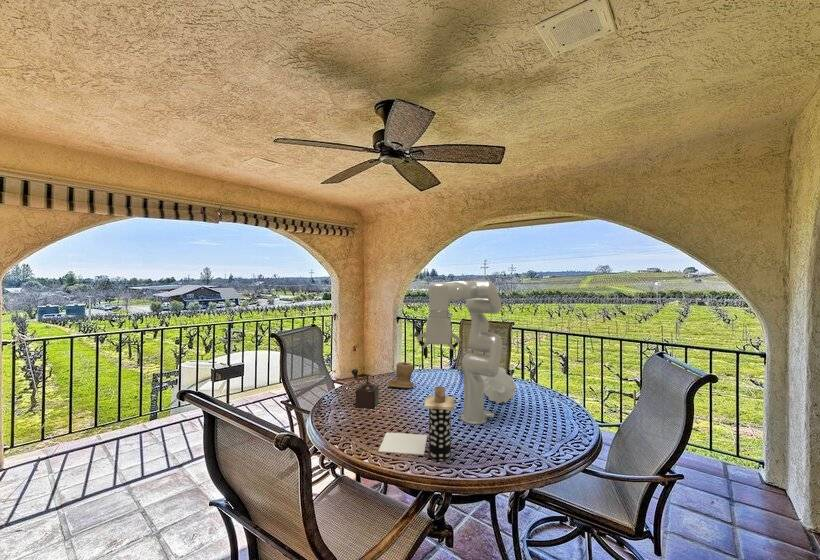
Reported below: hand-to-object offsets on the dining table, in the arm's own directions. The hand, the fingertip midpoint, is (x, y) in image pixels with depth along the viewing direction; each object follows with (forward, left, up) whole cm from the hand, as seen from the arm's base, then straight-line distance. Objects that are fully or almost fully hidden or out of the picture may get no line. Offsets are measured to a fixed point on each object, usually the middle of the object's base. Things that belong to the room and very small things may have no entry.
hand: (438, 358), depth 133 cm
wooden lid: (-1, +2, -17) cm, 17 cm away
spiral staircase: (-30, -64, -37) cm, 79 cm away
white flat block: (+14, -5, -37) cm, 40 cm away
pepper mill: (+42, -44, -37) cm, 71 cm away
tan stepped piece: (+26, -76, -37) cm, 88 cm away
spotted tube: (-1, +2, -37) cm, 37 cm away
